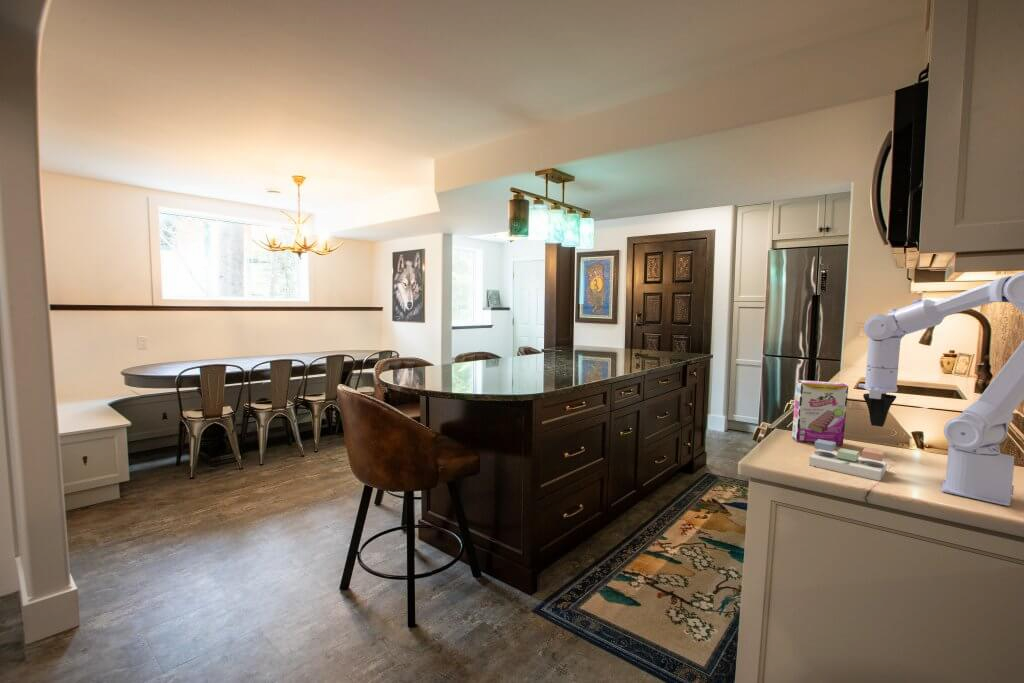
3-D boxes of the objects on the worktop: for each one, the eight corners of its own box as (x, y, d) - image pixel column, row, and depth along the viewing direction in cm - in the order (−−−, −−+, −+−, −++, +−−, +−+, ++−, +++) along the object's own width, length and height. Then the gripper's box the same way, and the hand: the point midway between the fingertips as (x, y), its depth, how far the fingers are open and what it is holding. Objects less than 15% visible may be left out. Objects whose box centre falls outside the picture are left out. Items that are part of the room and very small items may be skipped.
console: (886, 470, 106) (886, 461, 105) (879, 480, 99) (880, 470, 99) (818, 456, 115) (819, 447, 115) (809, 465, 108) (809, 455, 108)
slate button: (835, 448, 110) (835, 442, 110) (832, 451, 107) (832, 445, 107) (818, 445, 112) (818, 439, 112) (814, 448, 110) (814, 441, 110)
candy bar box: (796, 442, 127) (800, 382, 125) (791, 437, 131) (795, 379, 130) (844, 446, 124) (849, 385, 122) (837, 441, 128) (841, 382, 127)
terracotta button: (884, 457, 104) (884, 451, 103) (881, 461, 101) (882, 454, 101) (864, 454, 106) (865, 447, 106) (861, 457, 104) (862, 450, 103)
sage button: (858, 458, 107) (859, 451, 107) (855, 461, 104) (856, 454, 104) (840, 454, 109) (840, 448, 109) (836, 457, 107) (837, 451, 107)
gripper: (866, 362, 115) (861, 417, 116) (854, 368, 105) (849, 427, 106) (903, 366, 110) (898, 422, 111) (894, 371, 100) (889, 434, 101)
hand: (877, 425), depth 108 cm, fingers closed
